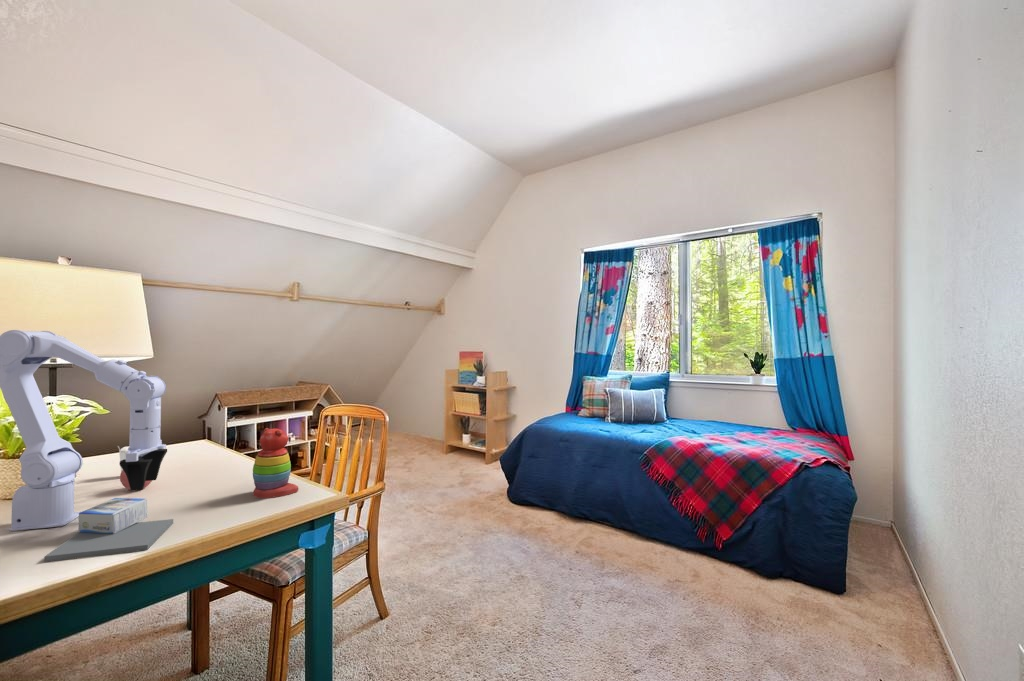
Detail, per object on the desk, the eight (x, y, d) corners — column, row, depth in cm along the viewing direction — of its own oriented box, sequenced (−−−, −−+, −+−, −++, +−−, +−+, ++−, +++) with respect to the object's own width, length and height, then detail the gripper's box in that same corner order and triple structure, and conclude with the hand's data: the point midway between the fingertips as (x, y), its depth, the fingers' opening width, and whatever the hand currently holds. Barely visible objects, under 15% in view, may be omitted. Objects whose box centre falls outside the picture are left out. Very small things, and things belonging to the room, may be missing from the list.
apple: (129, 486, 129) (130, 458, 130) (159, 484, 131) (159, 457, 131) (113, 494, 122) (114, 465, 122) (144, 493, 124) (145, 463, 124)
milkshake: (111, 478, 136) (112, 445, 136) (131, 473, 141) (131, 441, 141) (122, 480, 135) (123, 446, 135) (141, 475, 140) (142, 442, 140)
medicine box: (148, 498, 103) (112, 513, 95) (148, 517, 103) (113, 534, 95) (115, 497, 104) (77, 512, 95) (116, 516, 104) (77, 533, 95)
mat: (44, 561, 85) (44, 556, 85) (85, 532, 98) (85, 527, 98) (147, 549, 90) (147, 544, 90) (173, 523, 104) (173, 518, 104)
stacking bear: (301, 491, 127) (302, 427, 127) (266, 501, 119) (267, 433, 119) (278, 484, 133) (279, 423, 133) (243, 494, 124) (244, 429, 124)
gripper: (153, 432, 102) (152, 492, 102) (176, 421, 116) (175, 474, 116) (114, 434, 100) (113, 495, 99) (142, 423, 113) (141, 477, 113)
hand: (144, 484), depth 107 cm, fingers open, 7 cm apart
